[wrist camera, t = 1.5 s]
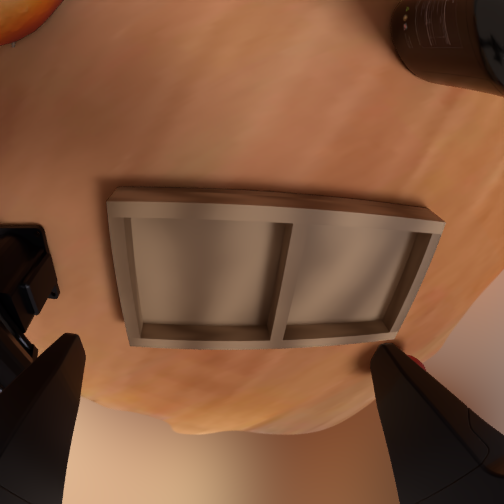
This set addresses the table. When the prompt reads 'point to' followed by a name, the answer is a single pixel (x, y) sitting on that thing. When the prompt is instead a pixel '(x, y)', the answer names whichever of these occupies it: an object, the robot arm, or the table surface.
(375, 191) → the table surface
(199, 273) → the holder
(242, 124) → the table surface
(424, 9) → the supplement bottle
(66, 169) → the table surface
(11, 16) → the fruit
